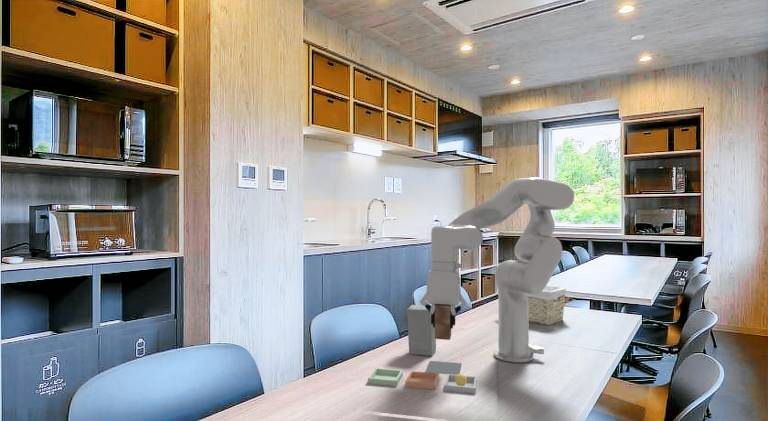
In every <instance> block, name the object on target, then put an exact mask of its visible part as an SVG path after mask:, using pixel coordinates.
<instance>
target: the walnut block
mask: <svg viewBox="0 0 768 421" xmlns="http://www.w3.org/2000/svg"><path fill="white" fill-rule="evenodd" d="M450 315H451V308H450V305H437V304H436V305H435V339H436V340H444V341H446V340H448V341H450V340H451V337H452V329H451V328H450Z"/></svg>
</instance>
